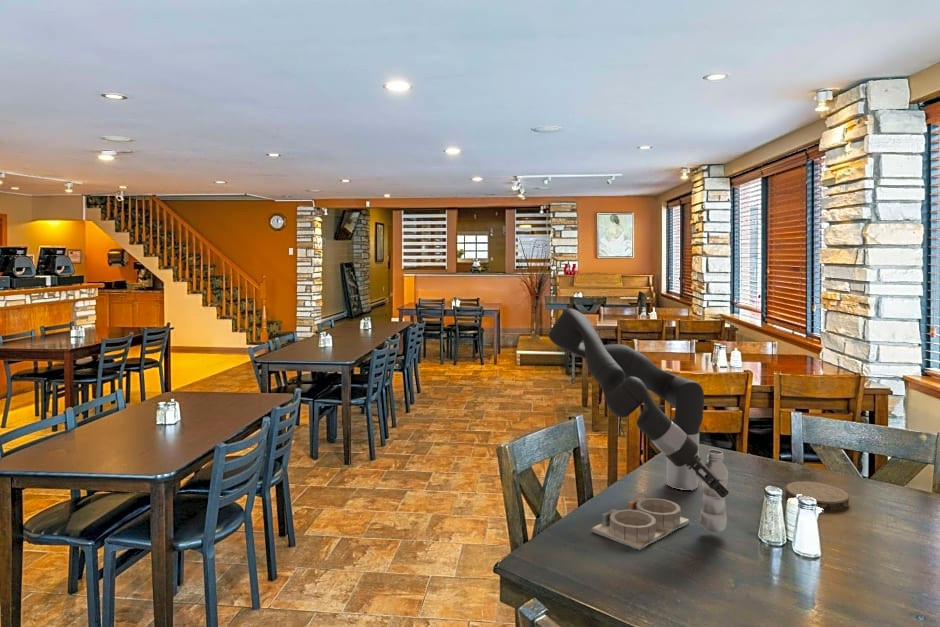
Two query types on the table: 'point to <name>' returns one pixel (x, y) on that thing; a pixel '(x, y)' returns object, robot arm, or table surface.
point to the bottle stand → (642, 521)
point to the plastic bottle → (714, 495)
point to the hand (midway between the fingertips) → (720, 489)
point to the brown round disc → (820, 494)
